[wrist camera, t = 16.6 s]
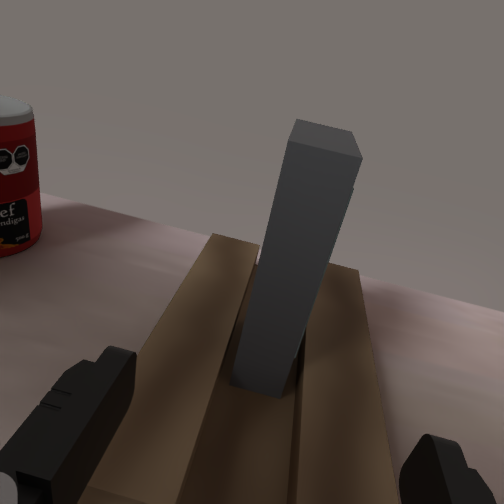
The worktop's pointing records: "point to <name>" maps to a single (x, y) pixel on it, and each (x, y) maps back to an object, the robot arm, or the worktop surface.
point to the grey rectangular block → (295, 252)
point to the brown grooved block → (250, 403)
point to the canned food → (18, 178)
